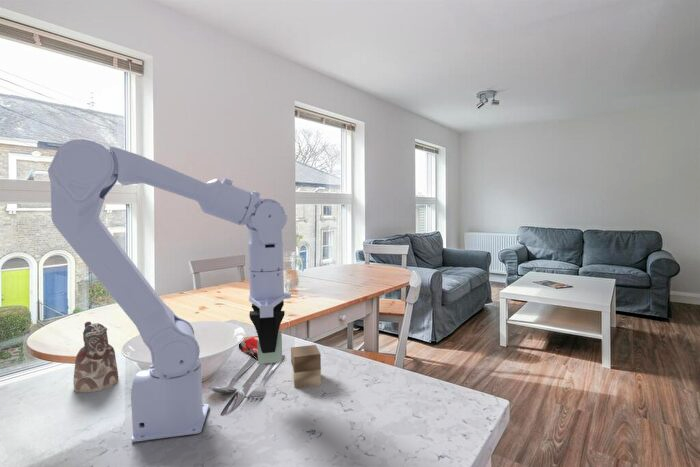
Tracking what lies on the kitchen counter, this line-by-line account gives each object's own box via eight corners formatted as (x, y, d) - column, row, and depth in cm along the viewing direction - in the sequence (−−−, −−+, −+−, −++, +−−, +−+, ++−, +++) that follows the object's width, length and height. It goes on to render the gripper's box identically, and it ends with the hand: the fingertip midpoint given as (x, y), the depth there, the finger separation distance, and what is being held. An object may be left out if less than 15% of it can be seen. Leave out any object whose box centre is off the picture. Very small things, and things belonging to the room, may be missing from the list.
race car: (235, 348, 90) (234, 332, 90) (256, 343, 94) (255, 327, 94) (260, 365, 80) (259, 347, 80) (282, 358, 84) (281, 341, 83)
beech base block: (294, 388, 69) (294, 372, 69) (292, 376, 74) (292, 362, 74) (321, 385, 71) (320, 369, 70) (317, 373, 75) (317, 359, 75)
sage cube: (258, 364, 62) (257, 340, 62) (259, 355, 66) (258, 333, 66) (282, 361, 63) (281, 338, 63) (281, 353, 67) (281, 331, 67)
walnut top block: (294, 372, 69) (294, 357, 69) (291, 362, 74) (290, 347, 74) (320, 369, 71) (320, 353, 70) (316, 359, 75) (315, 344, 75)
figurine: (79, 397, 67) (75, 331, 66) (69, 385, 72) (65, 324, 71) (123, 382, 72) (120, 322, 72) (111, 372, 77) (107, 315, 76)
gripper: (292, 275, 57) (294, 361, 58) (288, 262, 71) (290, 331, 72) (244, 277, 56) (247, 365, 57) (250, 264, 70) (252, 334, 71)
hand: (268, 347), depth 64 cm, fingers closed on sage cube, 4 cm apart
